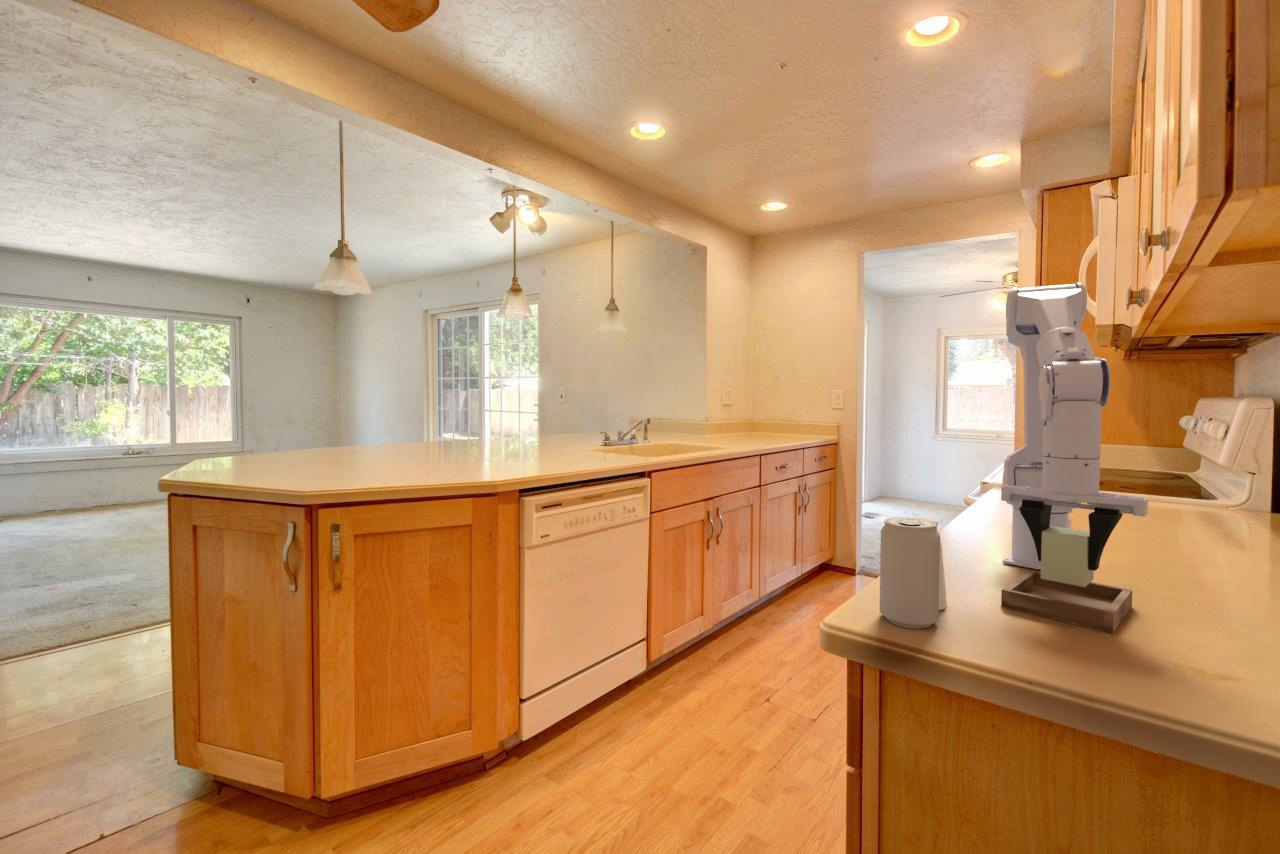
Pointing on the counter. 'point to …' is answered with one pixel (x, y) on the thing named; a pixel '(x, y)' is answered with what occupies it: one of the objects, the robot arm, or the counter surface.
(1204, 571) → the counter surface
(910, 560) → the beverage can
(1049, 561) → the sage block
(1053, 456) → the robot arm
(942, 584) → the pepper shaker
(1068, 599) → the walnut tray
